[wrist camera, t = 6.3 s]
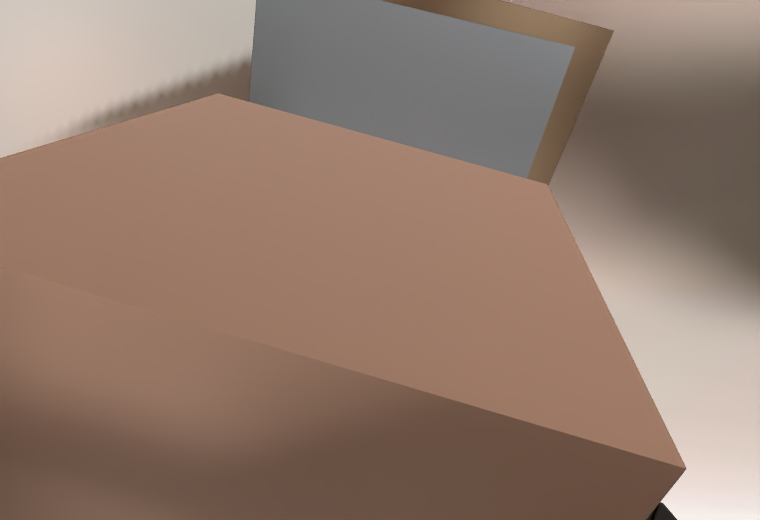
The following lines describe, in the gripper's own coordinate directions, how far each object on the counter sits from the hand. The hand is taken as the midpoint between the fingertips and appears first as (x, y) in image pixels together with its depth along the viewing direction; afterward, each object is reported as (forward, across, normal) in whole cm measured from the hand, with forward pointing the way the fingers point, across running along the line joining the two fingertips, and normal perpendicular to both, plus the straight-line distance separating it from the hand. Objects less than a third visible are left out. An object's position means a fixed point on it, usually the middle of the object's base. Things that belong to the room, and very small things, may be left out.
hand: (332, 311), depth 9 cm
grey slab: (+10, 0, 0) cm, 10 cm away
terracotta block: (+1, 0, 0) cm, 1 cm away
